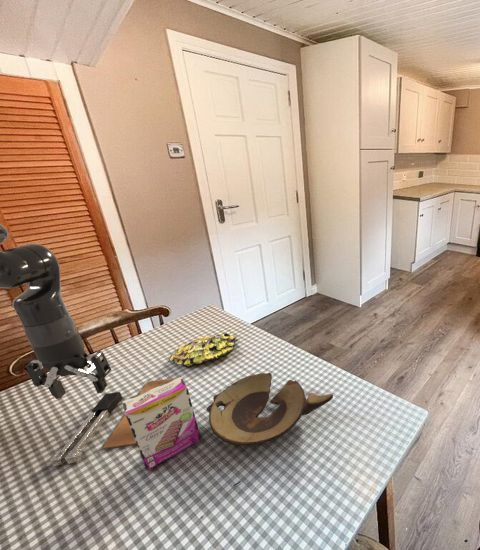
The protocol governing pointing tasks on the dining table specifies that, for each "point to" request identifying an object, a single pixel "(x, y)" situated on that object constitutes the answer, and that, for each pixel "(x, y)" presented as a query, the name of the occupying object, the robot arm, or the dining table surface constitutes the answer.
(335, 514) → the dining table surface
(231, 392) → the brown shallow dish
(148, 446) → the candy bar box
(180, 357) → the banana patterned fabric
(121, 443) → the cork mat
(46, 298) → the robot arm
